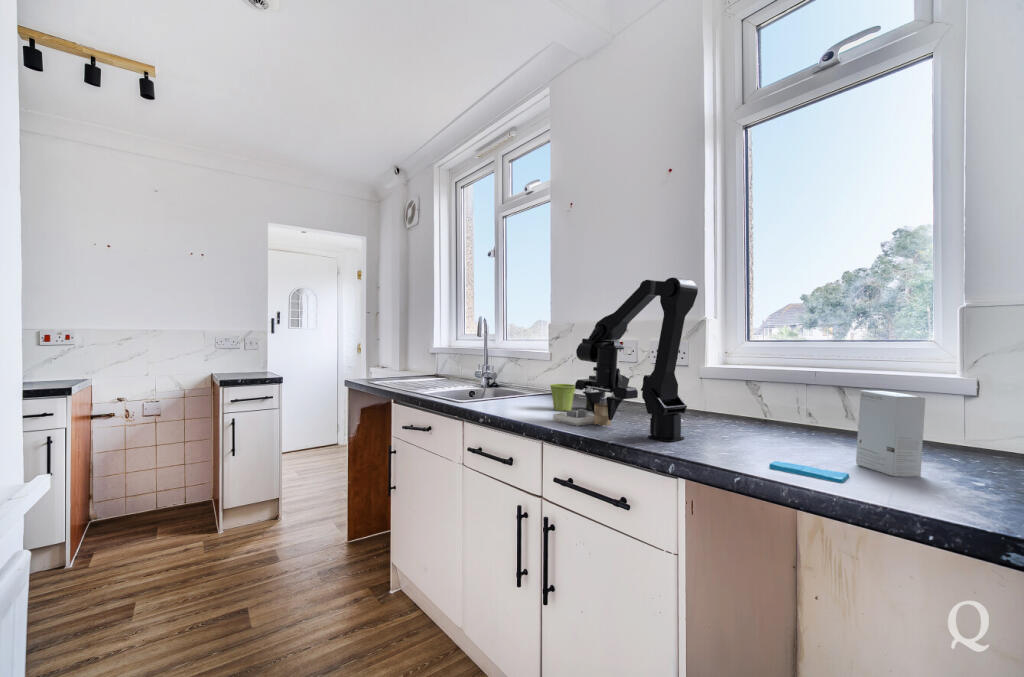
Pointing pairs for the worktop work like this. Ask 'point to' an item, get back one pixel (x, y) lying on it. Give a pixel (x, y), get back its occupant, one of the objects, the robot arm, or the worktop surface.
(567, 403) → the plant pot
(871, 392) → the skincare box
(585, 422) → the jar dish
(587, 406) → the supplement bottle
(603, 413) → the wooden block
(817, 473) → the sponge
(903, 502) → the worktop surface
